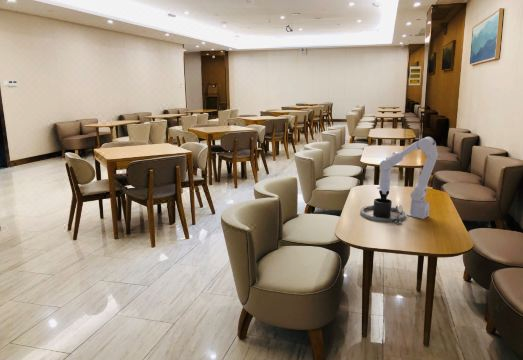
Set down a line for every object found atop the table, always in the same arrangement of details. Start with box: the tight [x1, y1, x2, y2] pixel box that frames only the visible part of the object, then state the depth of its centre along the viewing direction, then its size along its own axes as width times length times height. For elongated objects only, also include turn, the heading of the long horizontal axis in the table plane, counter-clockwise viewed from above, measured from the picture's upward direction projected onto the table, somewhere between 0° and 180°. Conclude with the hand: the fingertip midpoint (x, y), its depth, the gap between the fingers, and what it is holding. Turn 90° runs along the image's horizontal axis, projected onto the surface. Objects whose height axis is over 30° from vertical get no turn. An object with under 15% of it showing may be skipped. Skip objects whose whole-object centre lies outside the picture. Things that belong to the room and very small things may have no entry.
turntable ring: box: [359, 204, 406, 223], centre depth 230 cm, size 24×24×2 cm
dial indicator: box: [393, 204, 404, 226], centre depth 216 cm, size 5×3×10 cm, turn 16°
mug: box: [372, 197, 393, 218], centre depth 228 cm, size 9×12×9 cm
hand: (383, 202), depth 240 cm, fingers closed
